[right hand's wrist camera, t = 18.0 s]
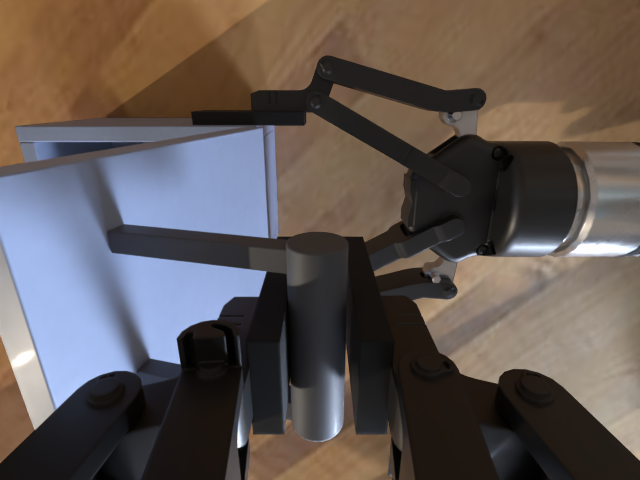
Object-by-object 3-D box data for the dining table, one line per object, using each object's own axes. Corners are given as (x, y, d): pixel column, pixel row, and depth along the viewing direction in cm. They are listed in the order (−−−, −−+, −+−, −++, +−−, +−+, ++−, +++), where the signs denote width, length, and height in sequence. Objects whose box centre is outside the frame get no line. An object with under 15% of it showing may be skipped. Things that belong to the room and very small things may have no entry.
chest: (124, 232, 33) (56, 280, 24) (102, 117, 30) (13, 126, 21) (278, 232, 33) (264, 280, 24) (274, 117, 30) (255, 125, 21)
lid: (57, 498, 11) (316, 581, 9) (-59, 175, 8) (314, 201, 6) (255, 283, 24) (380, 299, 22) (244, 126, 21) (391, 129, 19)
